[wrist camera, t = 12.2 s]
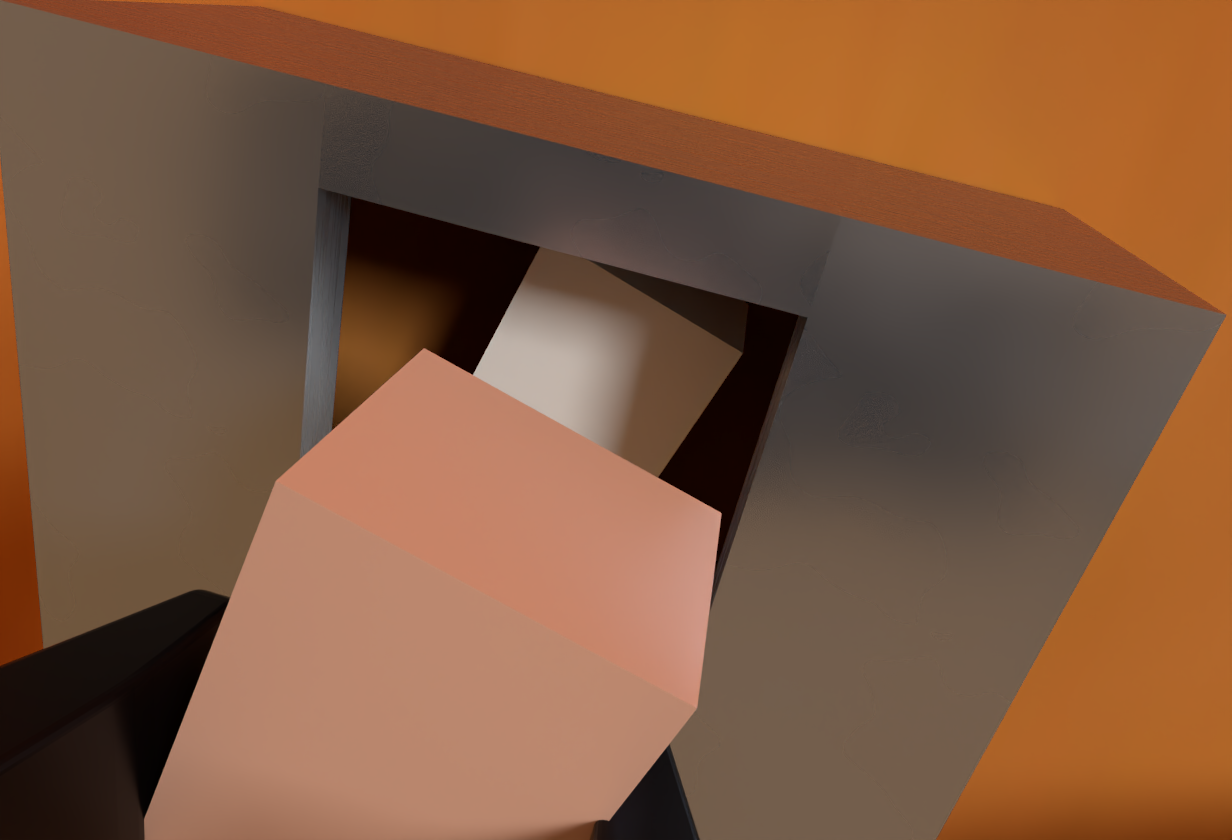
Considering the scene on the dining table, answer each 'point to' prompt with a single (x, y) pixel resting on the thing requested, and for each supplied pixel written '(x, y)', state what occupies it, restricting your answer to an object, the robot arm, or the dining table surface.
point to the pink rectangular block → (446, 633)
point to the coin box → (618, 236)
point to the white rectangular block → (615, 353)
